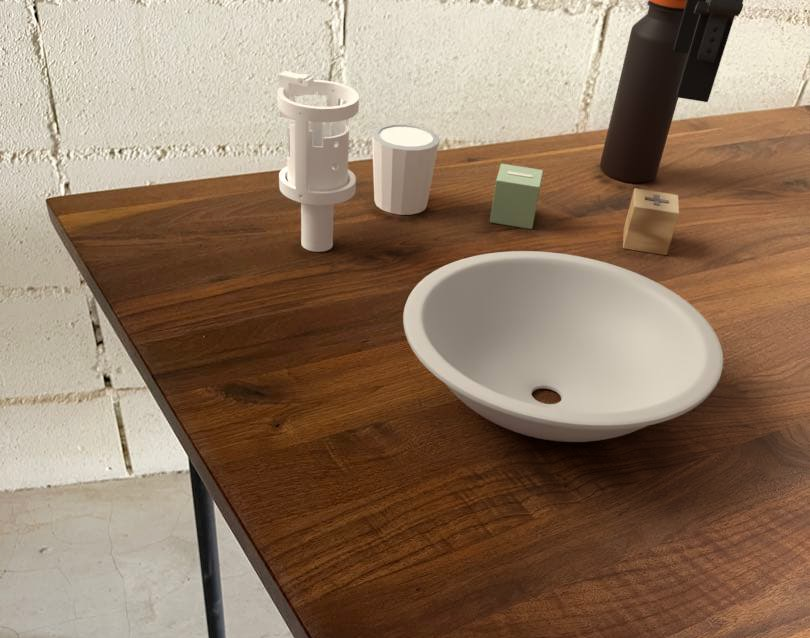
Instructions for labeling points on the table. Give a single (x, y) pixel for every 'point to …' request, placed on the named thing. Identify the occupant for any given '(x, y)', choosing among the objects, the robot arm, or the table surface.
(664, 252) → the maple block
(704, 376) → the sink basin
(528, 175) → the sage block
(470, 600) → the table surface
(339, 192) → the white slotted cylindrical holder
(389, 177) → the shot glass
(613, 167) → the bottle
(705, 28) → the robot arm
